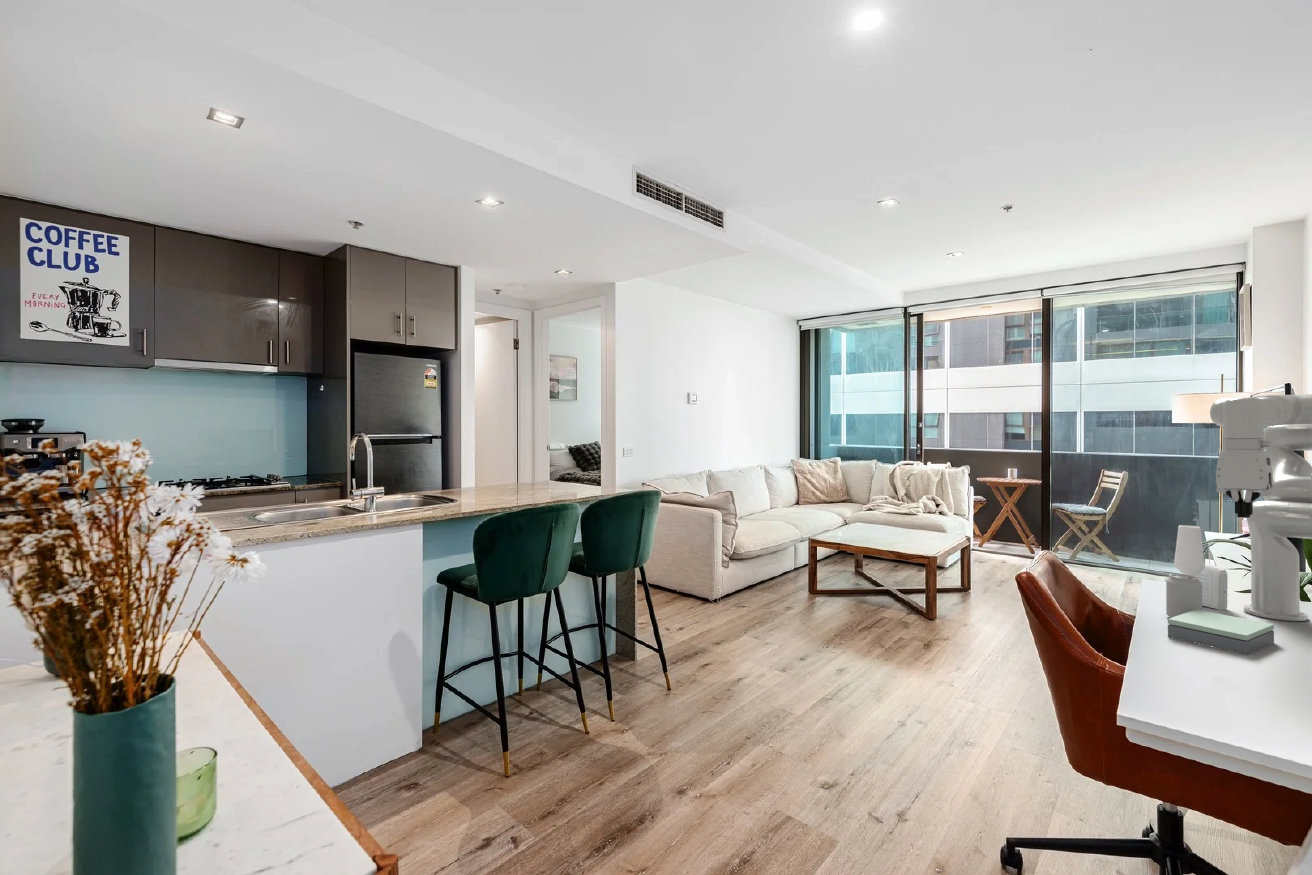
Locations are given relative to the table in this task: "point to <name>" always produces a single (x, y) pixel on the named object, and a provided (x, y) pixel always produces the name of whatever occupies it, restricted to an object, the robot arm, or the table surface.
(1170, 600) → the can
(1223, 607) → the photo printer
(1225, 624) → the plate
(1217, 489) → the robot arm
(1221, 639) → the duct box
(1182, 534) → the champagne flute
